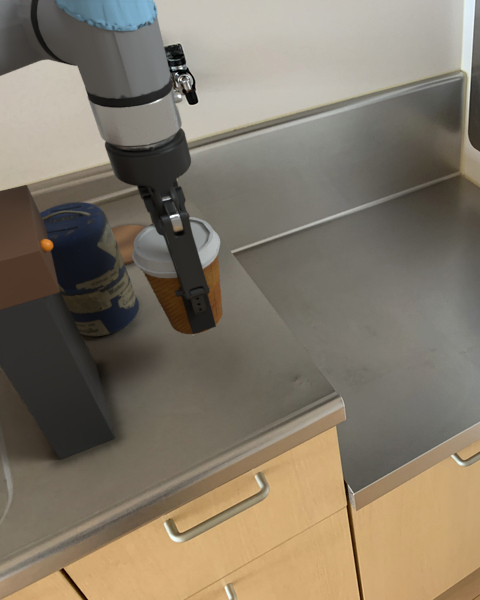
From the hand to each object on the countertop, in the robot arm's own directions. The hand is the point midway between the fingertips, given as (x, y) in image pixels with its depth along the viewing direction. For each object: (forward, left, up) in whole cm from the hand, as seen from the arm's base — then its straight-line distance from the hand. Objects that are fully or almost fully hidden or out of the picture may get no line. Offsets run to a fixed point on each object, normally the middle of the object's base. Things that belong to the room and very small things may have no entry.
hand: (193, 305), depth 75 cm
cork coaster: (-30, +14, -10) cm, 34 cm away
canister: (-19, 0, -10) cm, 21 cm away
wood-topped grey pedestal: (-9, -12, -10) cm, 18 cm away
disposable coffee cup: (0, 0, -2) cm, 2 cm away
